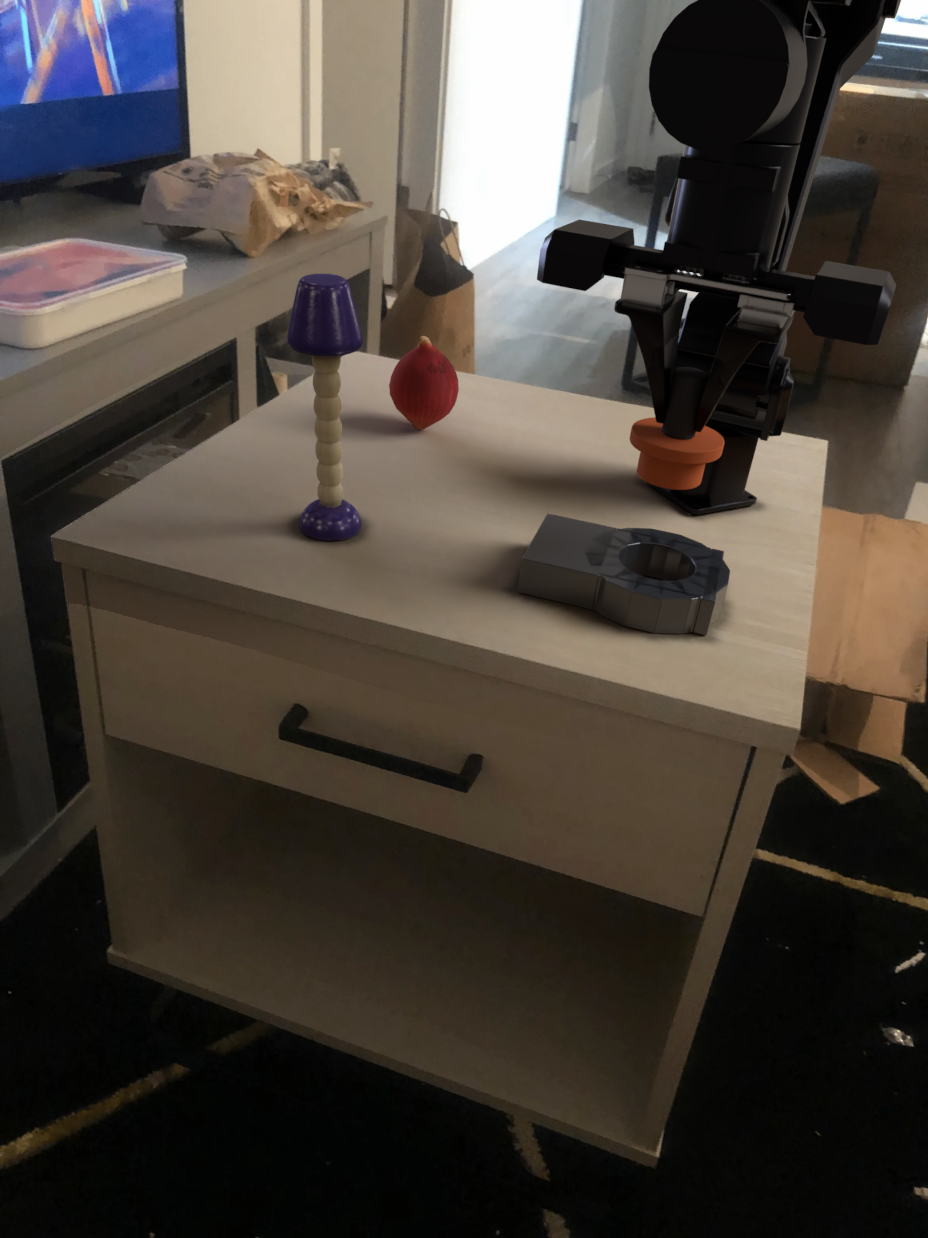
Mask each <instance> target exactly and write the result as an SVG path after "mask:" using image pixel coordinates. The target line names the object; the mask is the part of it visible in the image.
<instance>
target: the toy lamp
mask: <svg viewBox="0 0 928 1238" xmlns="http://www.w3.org/2000/svg"><path fill="white" fill-rule="evenodd" d="M293 299H294V300H293V304H292V308H291V314H290V319H289V324H288V328H287V335H286V341H287V345H288V346H289V348H290V349H292V350H293V351H294V352H297V353H299V354H302V355H306V356H311V363H312V367H313V369H314V372H313V376H312V388H313V391H314V393H315V395H314V398H313V409H314V410H313V411H314V414H315V416H316V418H315V421H314V423H313V424H314V425H313V427H314V429H313V430H314V435H315V437H316V439H317V440H316V443H315V446H314V452H315V456H316V459H317V461H318V462H317V464H316V467H315V468H316V469H315V470H316V471H315V473H316V478H317V480H318V485H317V487H316V488H317V490H316V492H317V494H316V495H317V498H318V499H315V500H313V501H312V502H310V503H309V504H308V505H307V506H306V507H305V508H304V509H303V511H302V513H301V516H300V519H299V530H300V531H301V532H302V533H303V534H304V535H306V536H307V537H309V538H312V539H315V540H320V541H326V542H337V541H342V540H343V541H344V540H348V539H351V538H353V537H355V536H357V535H358V534H359V532H360V531H361V529H362V519H361V516H360V514H359V511H358V509H356V508H355V506H354V505H353V504H351V503H350V502H349V501H347V500H345V499H343V498H344V487H343V485H342V480H343V476H344V470H343V469H344V468H343V465H342V463H341V461H342V457H343V445H342V442H341V440H340V439H341V438H342V433H343V426H342V421H341V419H340V415H341V412H342V400H341V397H340V395H339V393H340V391H341V389H342V388H341V387H342V380H341V379H342V378H341V376H340V375H341V374H340V373H339V369H340V366H341V361H342V360H341V359H342V358H341V356H347V355H350V354H352V353H355V352H357V351H358V350H360V349H361V348H362V346H363V343H364V338H363V332H362V329H361V324H360V320H359V317H358V312H357V308H356V305H355V301H354V297H353V293H352V290H351V287H350V284H349V282H348V280H347V279H346V278H345V277H343V276H342V275H338V274H334V273H310V274H306V275H304V276H302V277H301V278H300V279H299V280H298V283H297V286H296V289H295V295H294V298H293Z"/></svg>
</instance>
